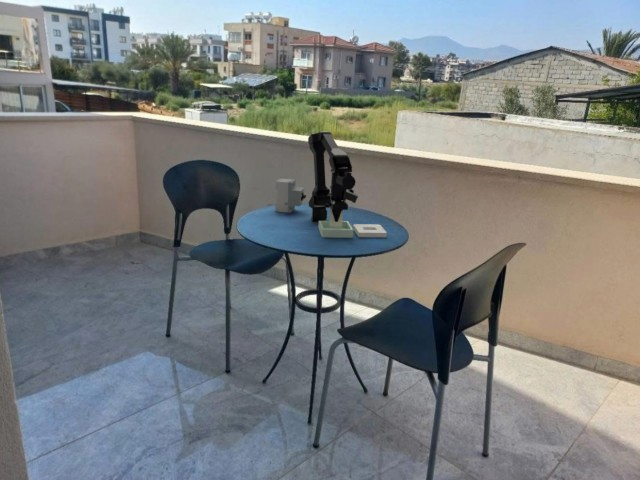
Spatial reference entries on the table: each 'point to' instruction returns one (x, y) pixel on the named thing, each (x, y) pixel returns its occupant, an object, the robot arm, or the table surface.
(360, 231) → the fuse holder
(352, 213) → the table surface
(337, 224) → the block
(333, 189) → the robot arm
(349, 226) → the parts tray
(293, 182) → the circuit breaker
